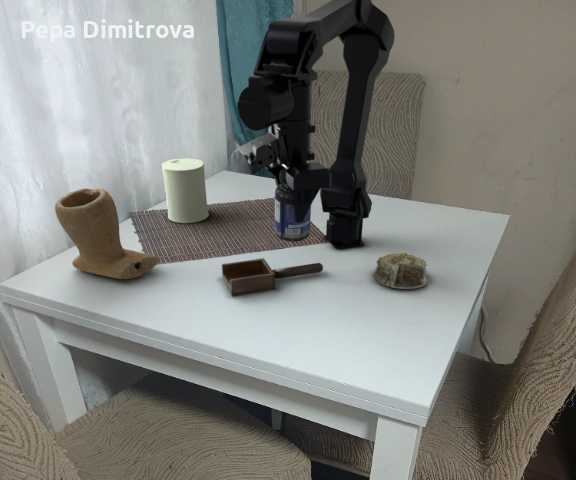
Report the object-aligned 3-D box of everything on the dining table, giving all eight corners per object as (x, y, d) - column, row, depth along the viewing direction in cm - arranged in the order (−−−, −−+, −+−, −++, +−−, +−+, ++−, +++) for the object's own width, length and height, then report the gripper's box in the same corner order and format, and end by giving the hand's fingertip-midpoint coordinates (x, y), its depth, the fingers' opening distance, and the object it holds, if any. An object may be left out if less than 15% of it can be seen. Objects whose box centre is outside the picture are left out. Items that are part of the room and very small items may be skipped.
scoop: (315, 265, 110) (316, 250, 108) (329, 281, 104) (330, 265, 103) (222, 279, 105) (221, 264, 103) (232, 296, 100) (231, 280, 98)
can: (187, 206, 136) (182, 153, 128) (217, 214, 131) (212, 160, 124) (159, 217, 130) (151, 163, 122) (189, 226, 125) (183, 170, 118)
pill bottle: (315, 231, 101) (320, 171, 93) (298, 247, 97) (301, 185, 89) (286, 222, 103) (287, 161, 95) (267, 236, 99) (267, 175, 91)
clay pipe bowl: (57, 275, 106) (36, 194, 97) (102, 252, 115) (87, 176, 106) (118, 294, 100) (102, 210, 91) (162, 268, 109) (151, 189, 100)
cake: (363, 275, 107) (364, 247, 105) (408, 267, 111) (410, 240, 108) (391, 294, 100) (393, 265, 97) (439, 285, 103) (442, 256, 100)
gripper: (226, 108, 93) (232, 202, 102) (261, 136, 79) (264, 243, 88) (290, 102, 96) (290, 195, 105) (335, 129, 82) (330, 233, 91)
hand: (292, 215), depth 97 cm, fingers closed on pill bottle, 6 cm apart
